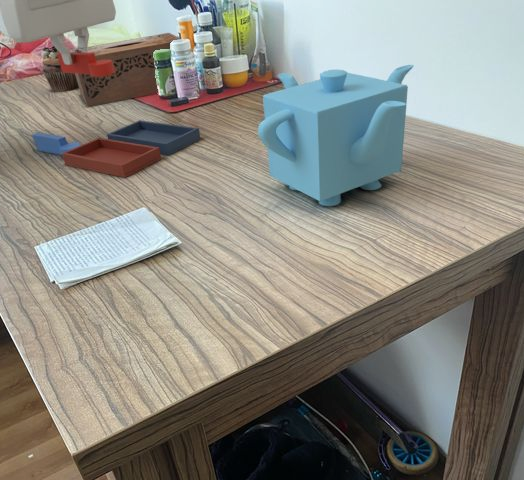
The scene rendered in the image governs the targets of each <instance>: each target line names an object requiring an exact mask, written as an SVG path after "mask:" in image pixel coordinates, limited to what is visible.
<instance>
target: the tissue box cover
mask: <svg viewBox="0 0 524 480" xmlns="http://www.w3.org/2000/svg"><path fill="white" fill-rule="evenodd" d="M180 38H181V37H179V36H177V35H175V34H173V33H171V32H165V33H159V34H154V35H149V36H142V37H137V38H130V39H125V40H124V39H123V40H120V41H114V42H107V43H102V44H97V45H91V46H88V47H87V50H88V53H94V55H95V58H96V61H98V60H106V59H109V60H112V63H113V66H114V70H115V72H114V73H113V74H111V75H107V76H102V77H93V76H91V74H77V73H75V76H76V79H77V82H78V86H79V88H78V89H79V92H80V96H81V97H82V99H83V101H84V103H85V104H86V107H87V108H90V107H93V106H99V105H105V104H110V103H113V102H120V101H125V100H130V99H133V98H140V97H143V96H144V97H145V96H149V95H155V94H159V93H158V89H157V85H156V78H155V67H154V58H153V52H154V51H155V50H160V49H170V43H171V42H172V41H173V40H176V39H180ZM74 49H75V48H73V49H69V51H74ZM74 52H75V51H74Z"/></svg>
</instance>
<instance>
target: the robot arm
mask: <svg viewBox="0 0 524 480" xmlns="http://www.w3.org/2000/svg"><path fill="white" fill-rule="evenodd" d="M0 14H1V15H0V16H1V18H2V22H3V24H4V27H5V30H6V33H7V34H8V37H10V38H11V40H13V41H14V43H17V44H18V43H19V44H27V43H32V42H36V41H40V40H44V39H47V38H49V40H50V44H52V45H53V46H55V48H56V49H57V50H58V51H59V52H60V53H61V55H62V58H63V61H64V63H65V64H66V65H70V64H73V63H76V62H77V60H76V58H75V53H74V51H75V52H81V53H88V50H87V47H89V46H88V45H89V39H90V32H89V27H93V26H97V25H101V24H105V23H108V22H112V21H114V20H115V19H116V15H117V10H116V5H115V3H114V0H0ZM70 32H73V33H74V36H75V37H77V47H76V48H73V49H74V51H69V50H70V49H69V50H68V48H69V47H68V48H67V45H66V44H65V43H64V42H66V37H65V34H67V33H70Z"/></svg>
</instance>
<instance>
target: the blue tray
mask: <svg viewBox="0 0 524 480" xmlns="http://www.w3.org/2000/svg"><path fill="white" fill-rule="evenodd" d="M200 132H201V131H200V128H199V127H193V126H185V125H178V124H170V123H163V122H155V121H148V120H146V121H145V120H137V121H135V122H131V123H130V124H128V125H125V126H123V127H120V128H117V129H116V130H113V131H111V132H109V133H106V139H110V140H116V141H122V142H128V143H135V144H141V145H147V146H153V147H159V149H160V154H161V155H164V156H170V155H172V154H174V153H177V152H178V151H180V150H182V149H184V148H186V147H188V146H190V145H192V144H194V143H196V142H199V141H200V140H201V139H202V137H201V133H200Z"/></svg>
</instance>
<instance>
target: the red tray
mask: <svg viewBox="0 0 524 480" xmlns="http://www.w3.org/2000/svg"><path fill="white" fill-rule="evenodd" d="M61 157H62V159H63V163H64V165H65V166H69V167H74V168H78V169H83V170H88V171H92V172H96V173H97V172H98V173H101V174H106V175H111V176H115V177H120V178H128V177H129V176H131V175H133V174H135V173H137V172H139V171H141V170H143V169H145V168H147V167H149V166H151V165H153V164H155V163H157V162H159V161H160V160H162V154H160V149H159V147H153V146H147V145H141V144H135V143H128V142H122V141H116V140H110V139H108V138H103V137H96V138H94V139H92V140H90V141H88V142H85V143H83V144H82V145H81V146H78V147H76V148H74V149H71V150H69V151H67V152H64V153H62V155H61Z"/></svg>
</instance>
